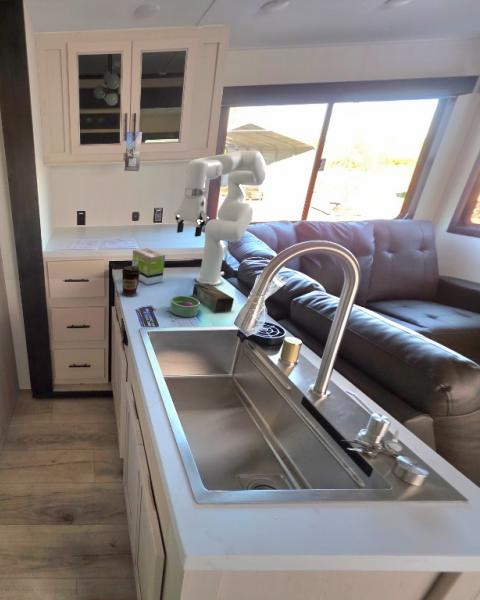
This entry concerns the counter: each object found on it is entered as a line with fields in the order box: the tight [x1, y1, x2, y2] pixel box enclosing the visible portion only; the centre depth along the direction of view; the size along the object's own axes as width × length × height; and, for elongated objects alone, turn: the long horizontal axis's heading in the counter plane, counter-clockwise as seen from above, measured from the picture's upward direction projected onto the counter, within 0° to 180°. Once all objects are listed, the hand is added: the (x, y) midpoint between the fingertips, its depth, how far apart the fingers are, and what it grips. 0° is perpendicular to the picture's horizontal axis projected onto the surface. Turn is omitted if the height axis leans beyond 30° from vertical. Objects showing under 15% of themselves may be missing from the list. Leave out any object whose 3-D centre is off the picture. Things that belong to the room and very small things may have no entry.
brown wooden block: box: [191, 282, 235, 313], centre depth 137 cm, size 8×19×7 cm, turn 11°
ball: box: [182, 302, 193, 306], centre depth 128 cm, size 4×4×4 cm
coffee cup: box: [121, 265, 140, 297], centre depth 146 cm, size 9×8×13 cm
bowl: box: [169, 295, 201, 318], centre depth 129 cm, size 11×11×5 cm
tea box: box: [131, 247, 166, 286], centre depth 164 cm, size 15×10×15 cm, turn 25°
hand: (188, 234), depth 137 cm, fingers open, 9 cm apart
